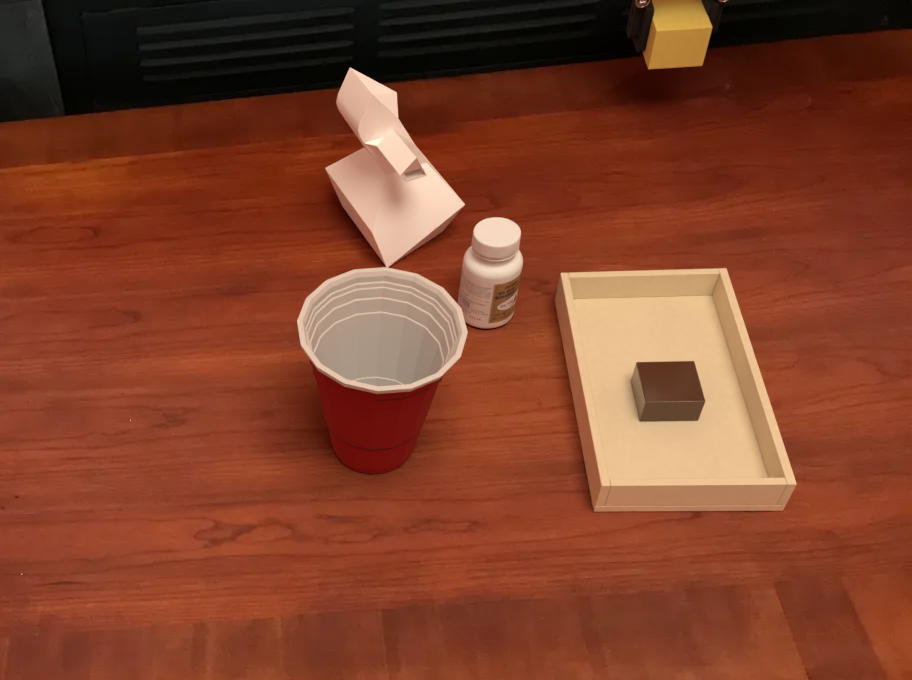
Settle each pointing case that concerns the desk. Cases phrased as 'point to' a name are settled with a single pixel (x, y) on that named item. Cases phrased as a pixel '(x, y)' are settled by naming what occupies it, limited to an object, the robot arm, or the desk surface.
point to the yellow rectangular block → (677, 34)
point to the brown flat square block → (667, 391)
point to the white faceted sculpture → (388, 175)
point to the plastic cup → (379, 359)
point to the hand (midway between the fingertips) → (669, 40)
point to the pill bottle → (491, 273)
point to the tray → (669, 442)
